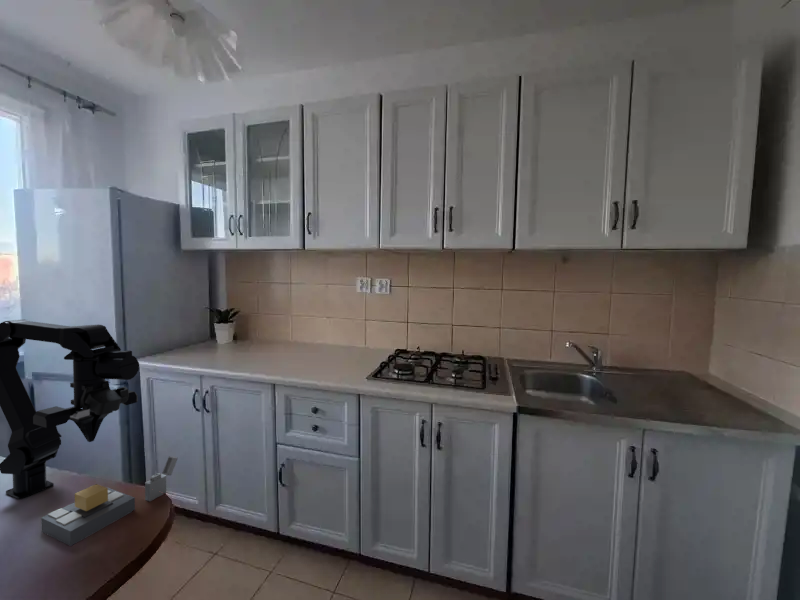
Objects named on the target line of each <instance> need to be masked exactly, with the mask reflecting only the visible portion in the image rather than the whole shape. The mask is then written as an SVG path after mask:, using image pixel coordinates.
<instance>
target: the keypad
mask: <svg viewBox="0 0 800 600" xmlns="http://www.w3.org/2000/svg"><path fill="white" fill-rule="evenodd" d="M105 487H106V488H108V501H106V502H104V503H102V504H100V505H98V506H96V507H94V508H92V509H90V510H88V511H84V510H82V509H80V508H77V507H75V501H74V502H73V503H70V504H68V505H65V506H64V507H61V508H59V509H56V510H54V511H51V512H49V513H47V514H46V515H44V516H43V517H41V521H40V522H41V524H40V525H41V533H43V534H45V533H46V534H45V535H47V534H48V535H47V536H49V537H51V538H53V539H55V540H57V541H60V542H61V543H64V544H65V545H68V546H70V547H71V546H73V545H75V544H77V543H79V542H81V541H82V540H84V539H86V538H88V537H90V536H91V535H94V534H95V533H96V532H98V531H100V530H102V529H104V528H106V527H107V526H109V525H111V524H113V523H114V522H115V523H116V521H118V520H120V519H121V518H123V517H125V516H127V515H128V514H130V513H133V512H134V511H136V498H135V497H134V496H132V495H129V494H126V493H124V492H121V491H118V490H115V489H112V488H110V487H108V486H105ZM133 510H134V511H133ZM132 511H133V512H132Z"/></svg>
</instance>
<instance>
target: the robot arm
mask: <svg viewBox="0 0 800 600" xmlns="http://www.w3.org/2000/svg"><path fill="white" fill-rule="evenodd" d="M27 340H30V341H36V342H37V341H39V342H45V343H52V344H58V345H60V347H62V348H63V349H66V350H68V351H70V352H68V354H66V355H65V356H63V360H65V361H66V360H67V361H70V360H71V361H72V370H73V371H72V372H73V373H72V374H73V377H72V378H73V379H72V380H73V382H70V383H69V385H70V388H72V389H73V399H70V405H72V406H71V407H66V408H64V407H60V406H52V407H47V408H44V409H40V410H37V411H36V409H35V406H34V404H33V402H32V399H31V398H30V395H29V394H28V392H27V389H26V386H25V385H24V382H23V380H22V378H21V375H20V374H19V372H18V368H17V366H18V362H19V359H20V358H21V357H20V356H21V355H20V351H19V349H20V348H21V347H23V346H24V345H25V344H26V341H27ZM139 368H140V362H139V361H138V358H137V357H136V356H134V355H133V351H132V350H122V349H121V347H120V346H119V344H118V343H117V342H116V340H115V339H114V338H113V336H112V335H111V334H110V332H109V330H108V329H107V327H106V326H105V325H102V324H86V325H85V324H84V325H64V324H63V325H62V324H54V323H47V322H41V321H40V322H38V321H31V320H28V319H13V320H4V321H2V322H0V408H1V410H2V412H3V414H4V415H3V416H4V417H5V420H6V421H7V424H8V426H9V428H10V429H11V434H10V437H9V441H8V443H7V448H8V451H9V454H8V455H7V456H6V457H5V458H4V459H3V460H2V461H1V462H0V474H2V475H3V474H4V475H12V488H9V489H7V490H6V491H5V494H7V495H8V496H11V497H13V498H15V499H17V500H22V499H24V498H27V497H29V496H32V495H34V494H36V493H39V492H41V491H44V490H47V489H48V488H51V487H54V484H55V483H54V482H51V481H50V480H47V461H48V462H49V460H52V459H54V458H56V457H57V453H58V450H59V449H60V446H62V440H61V438H62V435H61V434H60V431H58V428H57V426H60V425H63V424H66V423H67V422H68V421H72V422H73V423H74V424H75V425H76V426H77V427H78V429H79V430H80V432H81V433H82V435H83V437H84V438H85V440H86V441H87V442H88V443H92V442H94V441H95V439H96V437H97V434H98V432H99V429H100V427H101V424H102V423H103V421H104V419H105V418H106V417H108V415H109V414H112V413H113V412H116V411H119V410H120V408H121V404H122V405H124V406H128V405H132V404H135V403H137V402H138V401H139V398H138V394H137V392H136V391H134V390H129V388H128V387H126V386H123V387H122V386H121V387H118V388H115V389H111V387H110V383H109V380H120V381H121V380H123V381H124V380H127V381H128V380H131V379H134V377H136V375H137V374H138V372H139V370H140V369H139Z"/></svg>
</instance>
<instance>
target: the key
mask: <svg viewBox="0 0 800 600" xmlns="http://www.w3.org/2000/svg"><path fill="white" fill-rule="evenodd" d="M106 487H107V486H102V485H100V484H98V483H96V484H94V485H91V486H88V487H87V488H84V489H82V490H80V491H77V492H76V493H74V502H75V507H77V508H80V509H82V510H84V511H88V510H90V509H92V508H94V507H96V506H98V505H100V504H102V503H104V502H106V501H108V488H109V487H108V488H106Z"/></svg>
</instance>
